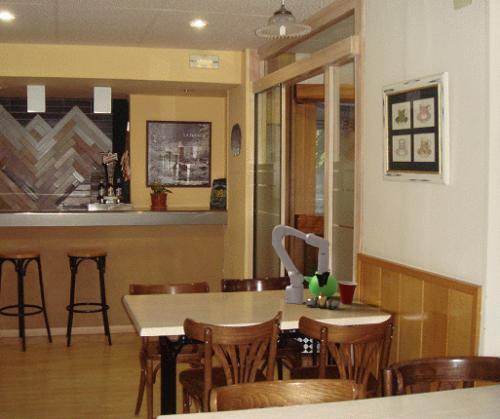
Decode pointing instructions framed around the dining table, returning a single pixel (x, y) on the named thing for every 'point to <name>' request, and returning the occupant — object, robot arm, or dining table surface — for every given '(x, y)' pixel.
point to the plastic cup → (347, 291)
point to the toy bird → (328, 289)
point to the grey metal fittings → (331, 304)
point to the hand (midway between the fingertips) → (322, 286)
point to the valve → (322, 301)
